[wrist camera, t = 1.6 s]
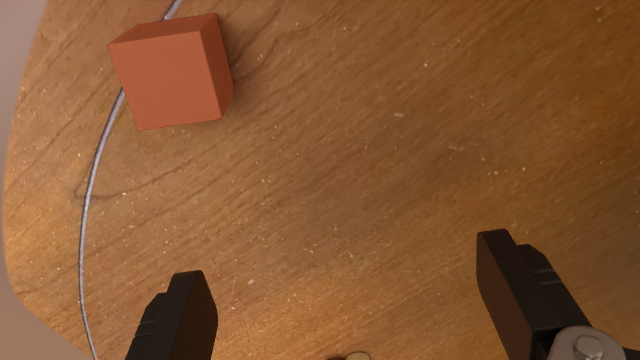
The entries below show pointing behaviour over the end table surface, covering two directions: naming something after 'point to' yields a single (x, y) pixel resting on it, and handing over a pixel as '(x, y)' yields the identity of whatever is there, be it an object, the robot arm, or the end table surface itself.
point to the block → (174, 71)
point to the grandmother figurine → (358, 356)
